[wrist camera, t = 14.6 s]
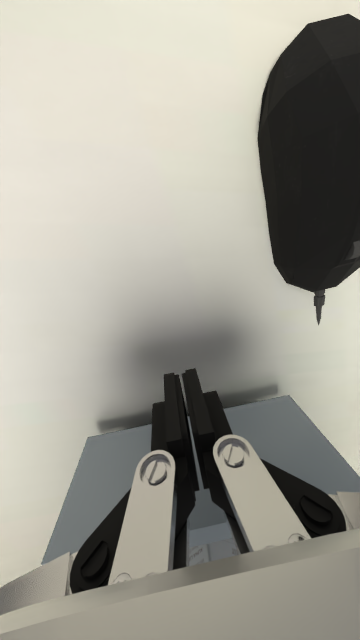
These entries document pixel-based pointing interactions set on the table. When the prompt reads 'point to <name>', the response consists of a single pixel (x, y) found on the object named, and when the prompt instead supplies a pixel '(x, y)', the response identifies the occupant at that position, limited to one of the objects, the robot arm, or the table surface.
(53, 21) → the table surface
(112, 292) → the table surface
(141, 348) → the table surface
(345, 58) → the gaming mouse
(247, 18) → the table surface
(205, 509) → the tray
